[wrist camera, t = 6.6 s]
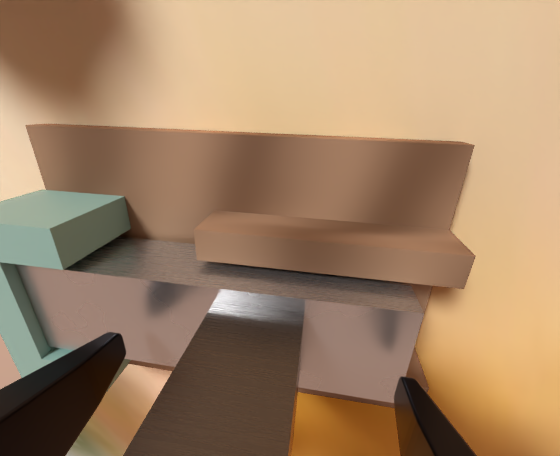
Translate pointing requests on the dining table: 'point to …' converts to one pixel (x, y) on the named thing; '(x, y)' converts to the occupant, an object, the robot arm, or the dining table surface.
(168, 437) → the grey t-shaped block
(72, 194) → the socket block
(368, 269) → the slide base
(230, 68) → the dining table surface
